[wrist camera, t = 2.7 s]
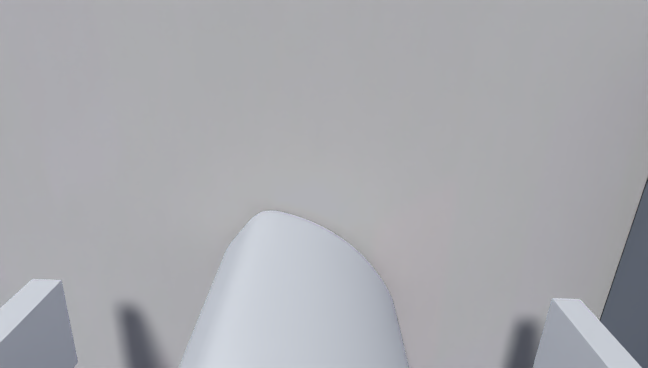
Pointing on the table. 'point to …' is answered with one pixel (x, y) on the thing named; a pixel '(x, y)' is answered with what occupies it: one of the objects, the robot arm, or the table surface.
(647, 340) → the tray
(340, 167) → the table surface
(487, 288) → the table surface
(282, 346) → the eye dropper bottle
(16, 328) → the robot arm
